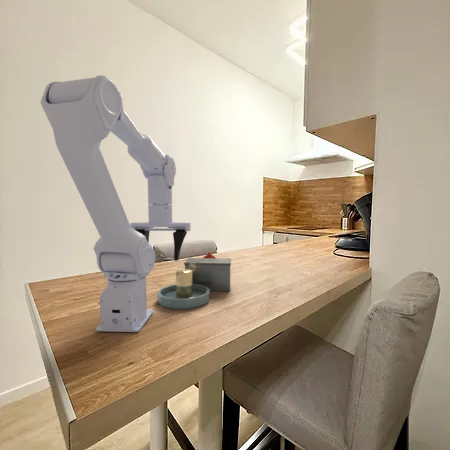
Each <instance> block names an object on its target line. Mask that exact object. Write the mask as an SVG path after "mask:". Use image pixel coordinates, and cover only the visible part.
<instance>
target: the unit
mask: <svg viewBox="0 0 450 450" xmlns="http://www.w3.org/2000/svg"><path fill="white" fill-rule="evenodd" d="M183 263H184V264H183V265H184V269H188V270H192V277H193V284H198V285H204V286H206V287H207V288H209V289H210V292H231V283H232V282H231V271H232V270H231V267H232V258H224V257H223V258H217V257H215V258H203V257H202V258H201V257H196V258H195V257H188V258H187V259H186V260H185V261H184V262H183Z"/></svg>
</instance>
